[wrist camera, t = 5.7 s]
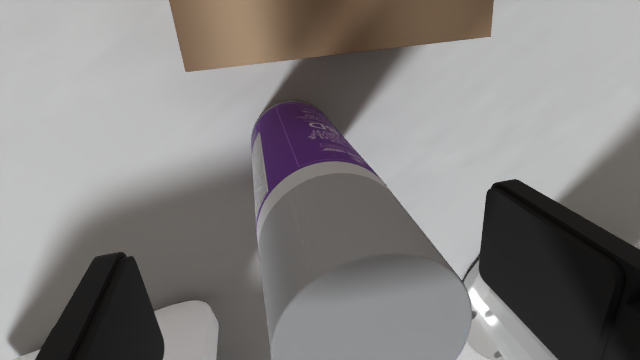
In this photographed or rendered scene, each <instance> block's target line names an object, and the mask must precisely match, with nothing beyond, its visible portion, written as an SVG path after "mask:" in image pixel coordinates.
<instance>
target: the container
mask: <svg viewBox="0 0 640 360" xmlns="http://www.w3.org/2000/svg"><path fill="white" fill-rule="evenodd" d="M251 149H252V166H253V182H254V199H255V216H256V232H257V241H258V249H259V258H260V267H261V275H262V284H263V293H264V301H265V310H266V319H267V328H268V336H269V345H270V354H271V360H456V359H457V358H458V356H459V355H460V353H461V351H462V349H463V347H464V345H465V343H466V341H467V338H468V335H469V332H470V328H471V322H472V306H471V300H470V296H469V294H468V291H467V289H466V287H465V285H464V283H463V282H462V280H461V279H460V278H459V276H458V275H457V274H456V273H455V271H454V270H453V269H452V268H451V266H450V265H449V264H448V263H447V261H446V260H445V259H444V258H443V256H442V255H441V254H440V253H439V251H438V250H437V249H436V248H435V246H434V245H433V244H432V243H431V241H430V240H429V239H428V238H427V236H426V235H425V234H424V232H423V231H422V230H421V229H420V227H419V226H418V225H417V224H416V222H415V221H414V220H413V219H412V217H411V216H410V215H409V214H408V212H407V211H406V210H405V209H404V207H403V206H402V205H401V204H400V202H399V201H398V200H397V199H396V197H395V196H394V195H393V194H392V192H391V191H390V190H389V189H388V187H387V186H386V184H385V183H384V182H383V181H382V180H381V179H380V177H379V176H378V175H377V174H376V173H375V172H374V171H373V170H372V168H371V167H370V166H369V165H368V164H367V163H366V162H365V161H364V159H363V158H362V157H361V156H360V155H359V154H358V153H357V152H356V150H355V149H354V148H353V147H352V146H351V145H350V144H349V143H348V141H347V140H346V139H345V138H344V137H343V136H342V135H341V134H340V132H339V131H338V130H337V129H336V128H335V127H334V126H333V125H332V123H331V122H330V121H329V120H328V119H327V118H326V117H325V116H324V114H322V113H321V112H320V111H319V110H318V109H317V108H315V107H314V106H312V105H310V104H308V103H305V102H302V101H284V102H280V103H277V104H275V105H273V106H271V107H270V108H268V109H267V110H266V111H264V112H263V113H262V115H261V116H260V117H259V118H258V120H257V121H256V123H255V125H254V128H253V131H252V137H251Z"/></svg>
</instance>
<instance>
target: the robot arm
mask: <svg viewBox="0 0 640 360" xmlns="http://www.w3.org/2000/svg"><path fill="white" fill-rule="evenodd" d="M463 283H464V285H465V287H466V289H467V291H468V294H469V296H470V300H471V306H472V322H471V328H470V332H469V335H468V338H467V341H466V343H467V344H468V345H469V346H470V347H471V348H472V349H473V350H474V351H475V352H476V353H477V354H479V355H481V356H483V357H485V358H487V359H491V360H640V250H639V249H637V248H636V247H634V246H632V245H630V244H629V243H627V242H625V241H623V240H622V239H620V238H618V237H616V236H615V235H613V234H611V233H609V232H608V231H606V230H604V229H603V228H601V227H599V226H597V225H596V224H594V223H592V222H590V221H589V220H587V219H585V218H583V217H582V216H580V215H578V214H576V213H575V212H573V211H571V210H569V209H568V208H566V207H564V206H563V205H561V204H559V203H557V202H556V201H554V200H552V199H550V198H549V197H547V196H545V195H543V194H542V193H540V192H538V191H536V190H535V189H533V188H531V187H529V186H528V185H526V184H524V183H523V182H521V181H519V180H516V179H514V180H508V181H502V182H497V183H494V184H493V185H492V187H491V189H489V190H488V192H487V195H486V203H485V212H484V222H483V231H482V240H481V250H480V259H479V260H478V261H477V263H476V264H475V265H474V267H473V268H472V269H471V270H470V272H469V273H468V275H467V277H466V279H465V280H464V282H463ZM164 348H165V347H164V339H163V336H162V333H161V330H160V327H159V324H158V322H157V319H156V316H155V313H154V311H153V308H152V305H151V302H150V299H149V297H148V294H147V291H146V288H145V285H144V283H143V280H142V277H141V274H140V272H139V269H138V266H137V263H136V261H135V259H134V257H132V256H130V257H126V255H125V254H124V253H123V252H119V253H113V254H108V255H102V256H97V257H95V258H94V259H93V261H92V263H91V264H90V266H89V268H88V270H87V271H86V273H85V275H84V277H83V278H82V280H81V282H80V284H79V285H78V287H77V289H76V291H75V292H74V294H73V296H72V297H71V299H70V301H69V303H68V304H67V306H66V308H65V310H64V311H63V313H62V315H61V317H60V318H59V320H58V322H57V324H56V325H55V326H54V328H53V329H52V331H51V332H50V334H49V336H48V338H47V339H46V341H45V343H44V344H43V346H42V348H41V350H40V351H39V353H38V355H37V357H36V358H35V360H163V357H164Z"/></svg>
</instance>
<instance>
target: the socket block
mask: <svg viewBox="0 0 640 360" xmlns="http://www.w3.org/2000/svg"><path fill="white" fill-rule="evenodd" d="M169 2H170V6H171V10H172V15H173V19H174V23H175V28H176V32H177V37H178V41H179V45H180V50H181V54H182V58H183V63H184V67H185V71H186V72H190V71H199V70H208V69H216V68H225V67H233V66H242V65H251V64H259V63H268V62H276V61H285V60H294V59H302V58H311V57H320V56H328V55H337V54H345V53H354V52H363V51H371V50H380V49H388V48H397V47H406V46H414V45H423V44H431V43H440V42H449V41H457V40H466V39H474V38H483V37H491V26H492V14H493V2H494V0H169Z"/></svg>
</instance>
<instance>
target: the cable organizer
mask: <svg viewBox="0 0 640 360" xmlns="http://www.w3.org/2000/svg"><path fill="white" fill-rule="evenodd" d="M154 313H155V316H156V319H157V322H158V324H159V327H160V330H161V333H162V336H163V339H164V347H165V348H164V357H163V360H216V355H217V343H218V331H219V324H218V321H217V319H216V317H215V315H214V313H213V311H212V309H211V307H210V306H209V305H208V304H207V303H205V302H203V301H186V302H182V303H178V304H173V305H170V306H167V307H164V308H161V309H158V310H156V311H154ZM40 350H41V349H39V350H36V351H34V352H32V353H29V354H26V355H23V356H20V357H18V358H16V359H14V360H35V358H36V357H37V355H38V353H39V351H40Z"/></svg>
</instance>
